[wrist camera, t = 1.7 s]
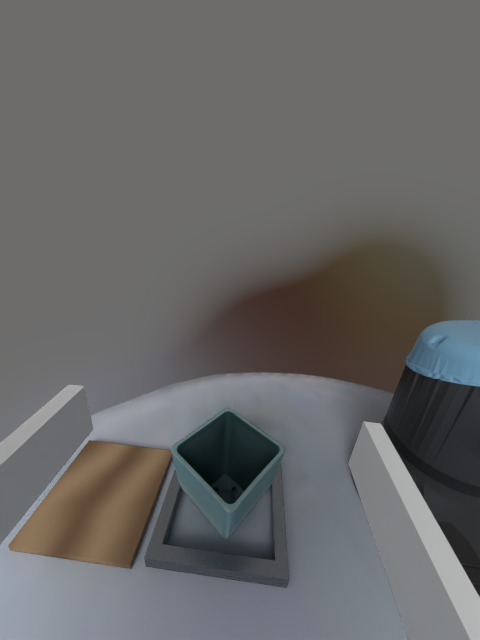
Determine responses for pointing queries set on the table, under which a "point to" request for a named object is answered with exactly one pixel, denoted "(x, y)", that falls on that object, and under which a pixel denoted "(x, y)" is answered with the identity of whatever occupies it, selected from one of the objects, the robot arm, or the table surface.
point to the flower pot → (226, 468)
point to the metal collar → (219, 562)
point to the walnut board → (98, 506)
